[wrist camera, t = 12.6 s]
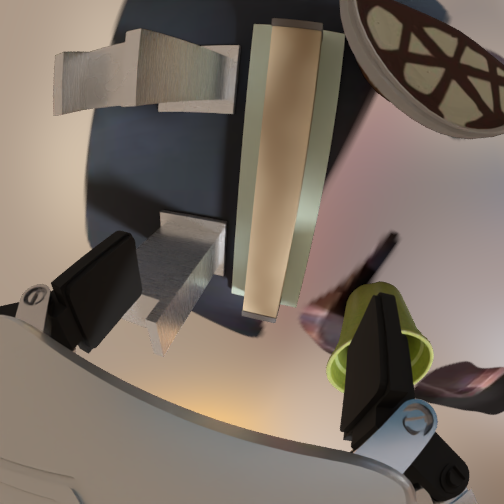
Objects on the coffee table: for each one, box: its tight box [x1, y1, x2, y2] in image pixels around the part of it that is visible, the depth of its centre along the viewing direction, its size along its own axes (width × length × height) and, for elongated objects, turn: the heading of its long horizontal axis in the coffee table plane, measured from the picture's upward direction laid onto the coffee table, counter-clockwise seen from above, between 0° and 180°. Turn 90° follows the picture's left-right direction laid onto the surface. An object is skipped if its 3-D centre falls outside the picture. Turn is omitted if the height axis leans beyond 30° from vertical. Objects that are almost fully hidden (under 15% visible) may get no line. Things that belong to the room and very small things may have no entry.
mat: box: [232, 24, 345, 307], centre depth 23 cm, size 7×26×1 cm, turn 175°
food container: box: [340, 0, 504, 139], centre depth 12 cm, size 12×6×10 cm, turn 78°
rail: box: [242, 18, 323, 323], centre depth 21 cm, size 3×25×3 cm, turn 175°
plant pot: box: [326, 282, 434, 393], centre depth 23 cm, size 9×9×9 cm
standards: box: [53, 28, 241, 357], centre depth 19 cm, size 7×22×13 cm, turn 175°
